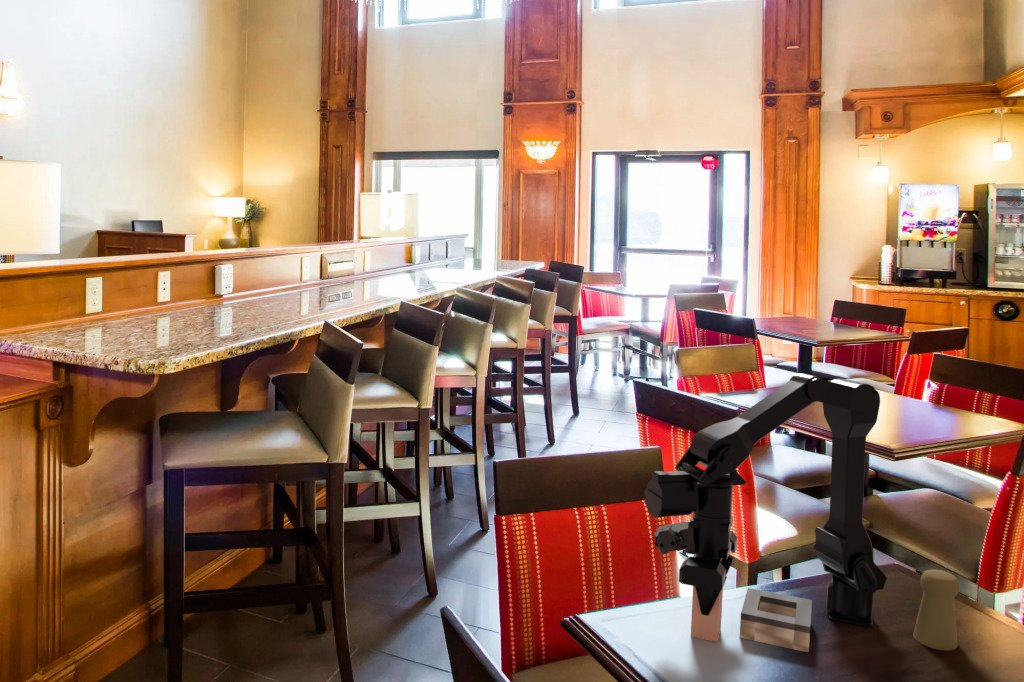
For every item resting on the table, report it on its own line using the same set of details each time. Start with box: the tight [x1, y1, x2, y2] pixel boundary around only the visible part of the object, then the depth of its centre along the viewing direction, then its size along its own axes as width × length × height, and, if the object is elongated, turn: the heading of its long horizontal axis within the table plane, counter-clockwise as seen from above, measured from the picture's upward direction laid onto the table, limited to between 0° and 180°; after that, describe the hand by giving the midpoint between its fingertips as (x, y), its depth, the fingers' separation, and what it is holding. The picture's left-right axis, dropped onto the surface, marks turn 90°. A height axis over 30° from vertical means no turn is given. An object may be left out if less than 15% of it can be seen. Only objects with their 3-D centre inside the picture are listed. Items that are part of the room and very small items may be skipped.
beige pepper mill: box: [912, 569, 960, 651], centre depth 112 cm, size 6×6×11 cm
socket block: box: [739, 587, 813, 653], centre depth 115 cm, size 10×10×4 cm
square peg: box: [690, 586, 724, 643], centre depth 113 cm, size 4×4×10 cm
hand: (707, 608), depth 113 cm, fingers closed on square peg, 4 cm apart
